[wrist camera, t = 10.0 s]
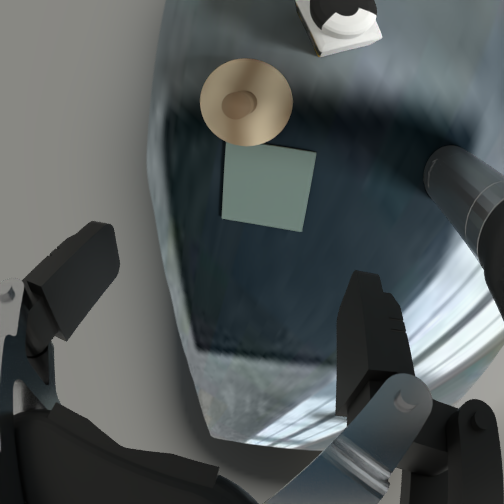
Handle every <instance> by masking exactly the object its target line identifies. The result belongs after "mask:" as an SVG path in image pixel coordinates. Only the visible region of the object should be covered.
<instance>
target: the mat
mask: <svg viewBox="0 0 504 504" xmlns="http://www.w3.org/2000/svg"><path fill="white" fill-rule="evenodd" d="M315 158H316V152H312V151H306V150H301V149H295V148H288V147H282V146H275V145H268V144H259V145H255V146H239V145H234V144H231V143H228V142H226V150H225V166H224V183H223V202H222V219H228V220H234V221H240V222H246V223H252V224H258V225H264V226H270V227H276V228H282V229H287V230H293V231H298V232H302V228H303V223H304V218H305V212H306V207H307V202H308V197H309V191H310V186H311V181H312V175H313V169H314V164H315Z"/></svg>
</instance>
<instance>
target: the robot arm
mask: <svg viewBox="0 0 504 504" xmlns="http://www.w3.org/2000/svg"><path fill="white" fill-rule="evenodd" d="M424 185H425V189H426V191H427V193H428V195H429V196H430V197H431V199H432V200H433V201H434V202H435V204H436V205H437V206H438V207H439V209H440V210H441V211H442V212H443V214H444V215H445V216H446V217H447V219H448V220H449V221H450V223H451V224H452V225H453V226H454V228H455V229H456V230H457V232H458V233H459V234H460V236H461V237H462V239H463V240H464V241H465V243H466V244H467V246H468V247H469V248H470V250H471V251H472V253H473V254H474V255H475V257H476V258H477V260H478V261H479V263H480V264H481V266H482V268H483V269H484V276H485V280H486V284H487V286H488V288H489V290H490V292H491V294H492V296H493V298H494V300H495V303H496V305H497V307H498V309H499V311H500V314H501V316H502V318H503V321H504V175H502V174H501V173H500V172H498V171H497V170H495V169H494V168H492V167H491V166H489V165H488V164H486V163H485V162H483V161H482V160H480V159H479V158H477V157H476V156H474V155H473V154H471V153H469V152H468V151H466V150H464V149H463V148H461V147H458V146H453V145H449V146H444V147H442V148H439V149H438V150H436V151H435V152H434V153H433V154H432V155H431V156H430V158H429V159H428V161H427V163H426V166H425V169H424ZM119 267H120V260H119V255H118V249H117V244H116V238H115V232H114V228H113V226H112V225H111V224H107V223H101V222H96V221H91V222H90V223H88V224H87V225H86V226H85V227H83V228H82V229H81V230H80V231H79V232H78V233H76V234H75V235H73V236H71V237H69V238H67V239H66V240H65V241H63V242H62V243H61V244H60V245H59V246H58V247H57V249H55V250H54V251H52V252H51V253H50V256H47V257H46V258H45V259H44V260H43V261H42V262H41V263H39V265H37V266H36V267H35V268H34V269H33V270H32V271H31V272H30V273H29V274H28V275H27V276H26V277H25V278H24V279H23V280H22V281H21V280H20V279H17V278H10V279H7V280H4V281H2V282H1V283H0V504H258V503H257V501H256V500H255V499H254V498H253V497H252V496H251V495H249V493H247V492H246V491H245V490H244V489H242V488H241V487H240V486H238V485H237V484H235V483H234V482H232V481H230V480H228V479H227V478H225V477H223V476H221V475H219V467H217V466H213V465H209V464H205V463H202V462H198V461H194V460H191V459H187V458H184V457H181V456H177V455H174V454H170V453H160V452H151V451H143V450H136V449H129V448H125V447H122V446H120V445H119V444H118V443H116V442H115V441H114V440H112V439H111V438H110V437H109V436H107V435H106V434H105V433H104V432H102V431H101V430H100V429H99V428H98V427H96V426H95V425H94V424H93V423H92V422H91V421H90V420H88V419H87V418H85V417H82V416H81V415H79V414H77V413H75V412H73V411H71V410H70V409H67V408H66V407H64V406H62V405H61V404H60V402H59V399H58V397H57V394H56V387H55V370H54V346H53V343H52V341H51V340H52V339H53V337H54V336H56V337H58V338H60V339H62V340H64V341H68V339H69V338H70V336H71V335H72V334H73V332H74V331H75V329H76V328H77V327H78V325H79V324H80V322H81V321H82V320H83V319H84V317H85V316H86V315H87V313H88V312H89V311H90V310H91V308H92V307H93V306H94V304H95V303H96V302H97V301H98V299H99V298H100V296H101V295H102V294H103V293H104V292H105V290H106V289H107V288H108V287H109V285H110V284H111V283H112V282H113V280H114V279H115V278H116V276H117V274H118V272H119ZM405 332H406V329H405V324H404V322H403V316H402V312H401V308H400V305H399V304H398V303H397V301H396V300H395V298H394V297H393V296H392V294H391V293H385V292H383V289H382V285H381V281H380V277H379V275H378V274H373V273H368V272H362V271H357V270H355V271H354V272H353V274H352V276H351V279H350V282H349V285H348V287H347V290H346V293H345V295H344V298H343V301H342V303H341V306H340V309H339V312H338V317H337V383H336V413H335V416H346V417H347V427H346V428H345V429H344V430H343V432H342V433H341V434H340V435H339V436H338V437H337V438H336V439H335V440H334V441H333V442H332V443H331V444H330V445H329V446H328V447H327V448H326V449H325V450H324V451H323V452H322V453H321V454H320V455H319V456H318V457H317V458H316V459H315V460H314V461H313V462H312V463H311V464H309V466H307V467H306V468H305V469H304V470H303V471H302V472H301V473H299V474H298V475H297V476H296V477H295V478H294V479H293V480H291V481H290V482H289V483H288V484H287V485H286V486H284V487H283V488H282V489H281V490H280V491H278V492H277V493H276V494H275V495H273V496H272V497H271V498H269V499H268V500H267V501H266V502H264V503H263V504H378V503H379V501H380V500H381V499H382V498H383V496H384V495H385V493H386V492H387V490H388V488H389V485H390V483H389V482H388V479H389V476H390V475H391V473H392V472H393V471H394V469H395V468H400V469H402V483H401V498H400V504H504V493H503V492H504V490H503V470H502V458H501V449H500V441H499V434H498V427H497V422H496V417H495V415H494V413H493V411H492V409H491V408H490V407H489V406H488V405H487V404H486V403H485V402H483V401H481V400H477V399H472V400H469V401H467V402H465V404H463V405H462V406H461V407H460V408H459V409H458V408H455V407H452V406H450V405H447V404H444V403H441V402H438V401H436V400H434V399H432V395H431V392H430V390H429V388H428V387H427V385H426V384H425V383H424V382H423V381H422V380H420V379H419V378H417V377H415V373H414V367H413V362H412V357H411V352H410V347H409V342H408V338H407V333H405Z"/></svg>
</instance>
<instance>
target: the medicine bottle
mask: <svg viewBox="0 0 504 504" xmlns="http://www.w3.org/2000/svg"><path fill="white" fill-rule="evenodd" d="M295 4H296V9H297V13H298V15H299V17H300V19H301V21H302V23H303V25H304V27H305V29H306V31H307V34H308V36H309V38H310V40H311V42H312V44H313V47H314V49H315V51H316V53H317V56H318V57H323V56H327V55H331V54H334V53H338V52H342V51H346V50H350V49H354V48H359V47H363V46H368V45H370V44H372V43H374V42H376V41H378V40H379V39H381V38H382V34H381V32H380V29H379V27H378V25H377V23H376V16H377V8H376V4H375V2H374V0H295Z"/></svg>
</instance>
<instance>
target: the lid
mask: <svg viewBox="0 0 504 504" xmlns="http://www.w3.org/2000/svg"><path fill="white" fill-rule="evenodd" d="M292 105H293V99H292V93H291V89H290V86H289V84H288V82H287V80H286V79H285V78H284V76H283V75H282V74H281V73H280V72H279V71H278V70H277V69H276V68H274V67H273V66H271V65H269V64H267V63H265V62H263V61H259V60H256V59H248V58H243V59H236V60H232V61H229V62H226V63H224V64H222V65H221V66H219V67H218V68H216V69H215V70H214V71H213V72H212V73H211V74H210V75H209V77H208V78H207V80H206V81H205V83H204V85H203V88H202V91H201V96H200V107H201V113H202V116H203V118H204V121H205V122H206V124H207V126H208V127H209V128H210V130H211V131H212V132H213V133H214V134H215V135H216V136H218V137H219V138H221V139H222V140H224V141H226V142H228V143H231V144H234V145H239V146H255V145H259V144H262V143H265V142H267V141H269V140H271V139H272V138H274V137H275V136H276V135H278V134H279V133H280V132H281V131H282V130H283V128H284V127H285V125H286V124H287V122H288V120H289V118H290V115H291V111H292Z"/></svg>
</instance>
